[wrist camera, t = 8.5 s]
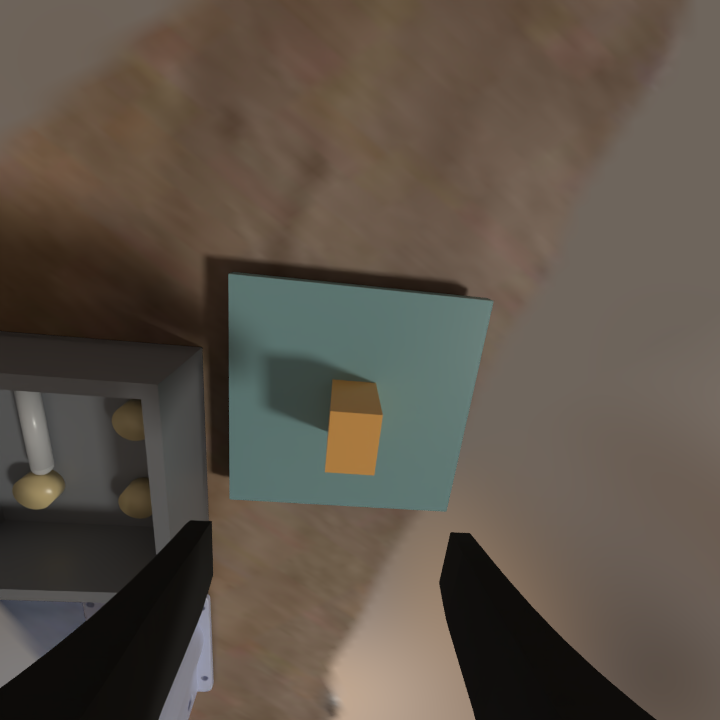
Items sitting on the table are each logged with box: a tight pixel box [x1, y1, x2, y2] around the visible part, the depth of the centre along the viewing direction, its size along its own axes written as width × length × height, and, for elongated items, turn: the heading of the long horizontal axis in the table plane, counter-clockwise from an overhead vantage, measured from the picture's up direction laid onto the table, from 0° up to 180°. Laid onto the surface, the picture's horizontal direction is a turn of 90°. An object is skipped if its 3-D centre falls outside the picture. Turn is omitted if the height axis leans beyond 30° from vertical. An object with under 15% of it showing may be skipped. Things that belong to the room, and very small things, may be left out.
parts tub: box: [0, 331, 209, 603], centre depth 19 cm, size 12×12×5 cm
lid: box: [228, 272, 493, 511], centre depth 18 cm, size 12×12×5 cm
